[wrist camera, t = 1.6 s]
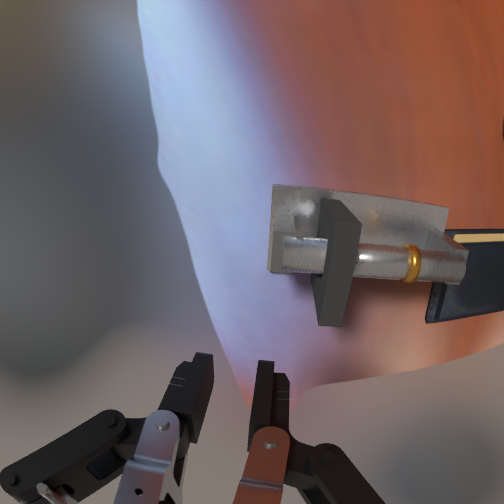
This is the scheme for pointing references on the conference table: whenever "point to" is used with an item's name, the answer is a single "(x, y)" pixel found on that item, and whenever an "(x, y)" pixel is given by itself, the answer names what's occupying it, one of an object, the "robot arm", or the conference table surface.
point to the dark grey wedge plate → (335, 261)
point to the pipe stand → (365, 236)
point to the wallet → (472, 278)
